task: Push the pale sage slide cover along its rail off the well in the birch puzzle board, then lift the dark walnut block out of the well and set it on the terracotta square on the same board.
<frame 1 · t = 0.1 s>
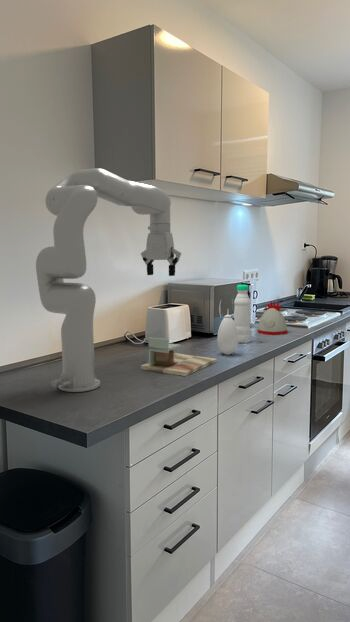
hand: (160, 275, 180), 31 cm above the countertop, fingers open, 9 cm apart
puzzle board: (179, 365, 171), on the countertop
walnut block: (164, 367, 168), resting in puzzle board
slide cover: (164, 349, 167), point 6 cm above the countertop, slide at 0.0 cm
kitchen timer: (272, 332, 231), on the countertop
water bottle: (242, 342, 210), on the countertop
sauce bottle: (227, 354, 187), on the countertop
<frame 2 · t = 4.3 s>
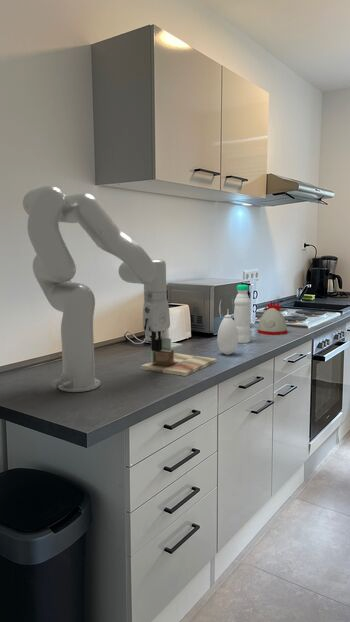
hand: (156, 350, 163), 7 cm above the countertop, fingers closed
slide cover: (166, 349, 168), point 6 cm above the countertop, slide at 1.5 cm, touching gripper
everything else where it was.
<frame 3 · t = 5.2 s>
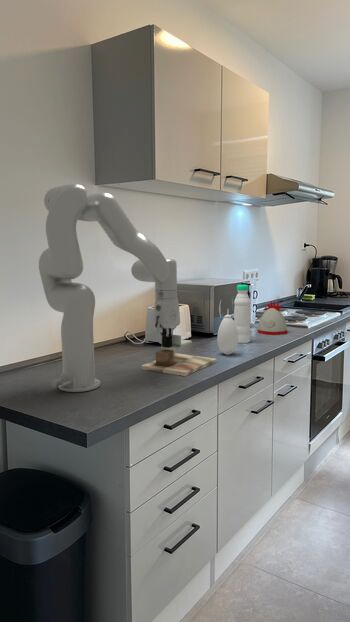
hand: (167, 346, 168), 7 cm above the countertop, fingers closed
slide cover: (176, 345, 174), point 6 cm above the countertop, slide at 8.0 cm, touching gripper
everything else where it was.
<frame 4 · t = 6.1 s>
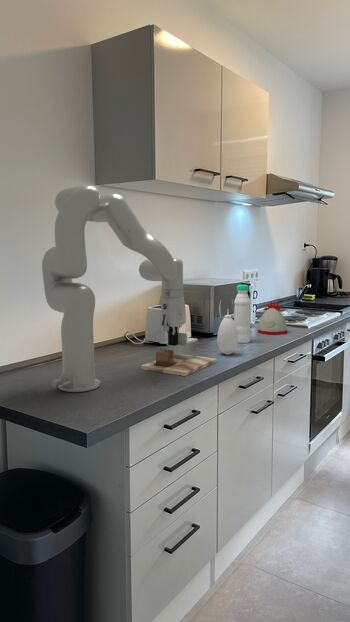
hand: (173, 344, 172), 7 cm above the countertop, fingers closed
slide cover: (182, 343, 177), point 6 cm above the countertop, slide at 12.0 cm, touching gripper
everything else where it was.
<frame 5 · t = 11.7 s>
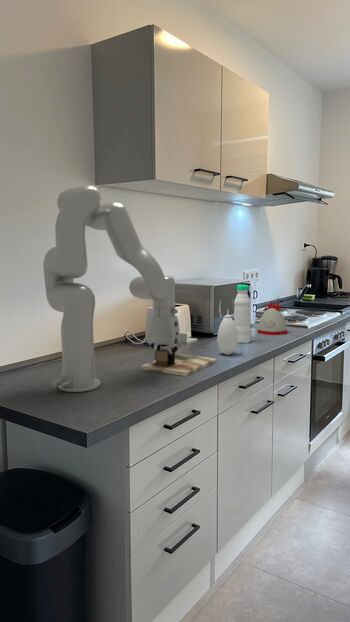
hand: (164, 362, 168), 2 cm above the countertop, fingers closed on walnut block, 4 cm apart
walnut block: (164, 367, 168), resting in puzzle board, touching gripper
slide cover: (182, 343, 177), point 6 cm above the countertop, slide at 12.0 cm
everything else where it was.
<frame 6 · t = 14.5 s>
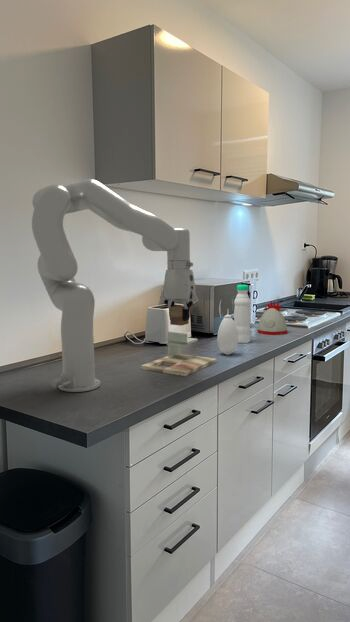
hand: (179, 319, 162), 18 cm above the countertop, fingers closed on walnut block, 4 cm apart
walnut block: (179, 324, 163), point 16 cm above the countertop, touching gripper
everything else where it was.
when the fingers open (4 cm above the countertop, at t = 17.5 s): walnut block drops 1 cm, resting on puzzle board.
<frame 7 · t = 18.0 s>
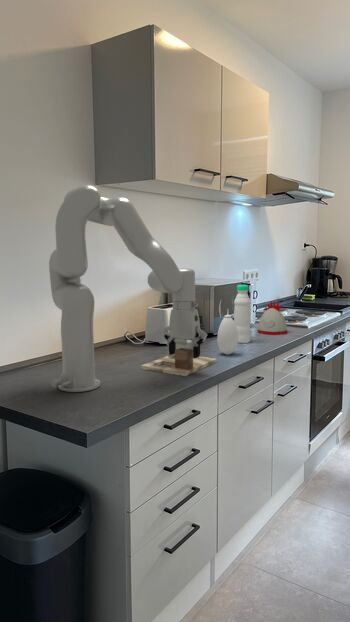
hand: (184, 355, 163), 5 cm above the countertop, fingers open, 9 cm apart
walnut block: (184, 366, 164), point 1 cm above the countertop, touching puzzle board
everything else where it was.
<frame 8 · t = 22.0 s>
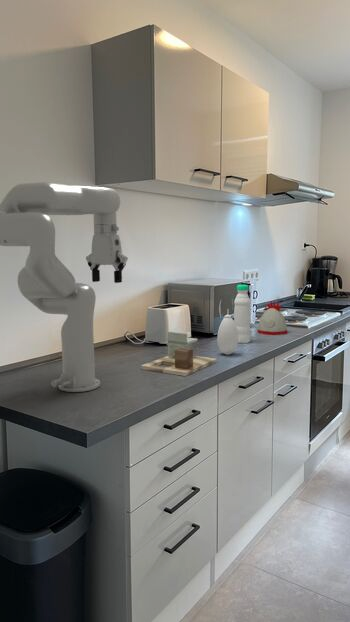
hand: (106, 282, 162), 30 cm above the countertop, fingers open, 9 cm apart
nothing on the countertop moved.
at the end: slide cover slide at 12.0 cm; walnut block 0.1 cm from the target spot on the puzzle board, point 1.3 cm above the puzzle board's base; walnut block tilted 0° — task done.
